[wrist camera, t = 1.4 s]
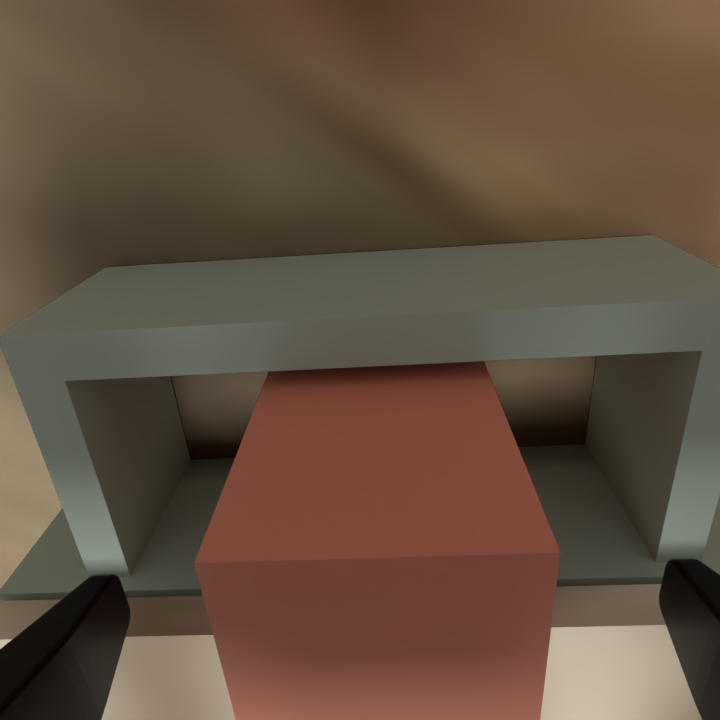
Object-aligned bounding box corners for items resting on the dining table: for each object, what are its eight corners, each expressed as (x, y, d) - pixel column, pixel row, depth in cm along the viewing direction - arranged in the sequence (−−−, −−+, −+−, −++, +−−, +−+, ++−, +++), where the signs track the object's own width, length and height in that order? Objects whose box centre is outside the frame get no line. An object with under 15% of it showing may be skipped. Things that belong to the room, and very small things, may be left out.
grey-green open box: (736, 230, 14) (915, 296, 9) (604, 810, 25) (654, 969, 20) (32, 271, 15) (-123, 350, 10) (212, 812, 26) (177, 964, 21)
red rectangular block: (458, 298, 15) (560, 552, 6) (456, 437, 16) (533, 768, 8) (293, 306, 15) (193, 563, 7) (310, 443, 17) (249, 771, 9)
